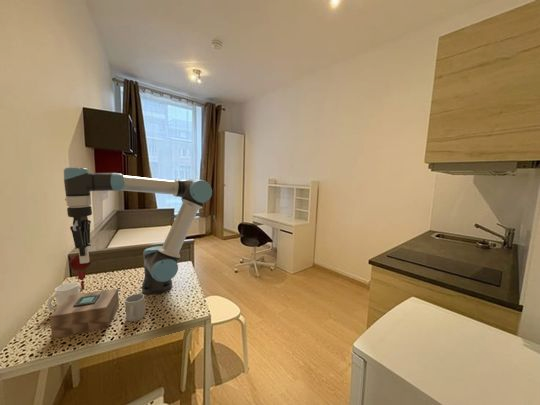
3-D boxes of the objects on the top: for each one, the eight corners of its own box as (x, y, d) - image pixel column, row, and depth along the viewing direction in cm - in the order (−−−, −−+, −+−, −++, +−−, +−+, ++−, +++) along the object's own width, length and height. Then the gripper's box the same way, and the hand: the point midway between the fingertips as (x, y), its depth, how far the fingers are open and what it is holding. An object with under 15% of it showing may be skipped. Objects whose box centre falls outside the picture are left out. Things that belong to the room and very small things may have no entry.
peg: (96, 315, 99) (95, 296, 98) (93, 321, 95) (91, 301, 94) (85, 317, 97) (83, 298, 96) (80, 323, 93) (79, 303, 92)
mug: (54, 318, 97) (51, 296, 96) (42, 314, 100) (40, 292, 99) (84, 304, 108) (82, 283, 107) (73, 300, 111) (71, 281, 110)
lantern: (66, 292, 119) (61, 237, 116) (84, 284, 128) (79, 232, 125) (81, 294, 117) (76, 238, 114) (98, 285, 127) (93, 233, 123)
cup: (147, 310, 103) (146, 292, 102) (141, 324, 94) (139, 304, 93) (129, 313, 102) (128, 294, 100) (121, 327, 92) (119, 307, 91)
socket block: (119, 306, 107) (117, 287, 106) (108, 327, 92) (106, 305, 91) (71, 314, 100) (69, 294, 99) (52, 338, 85) (49, 314, 84)
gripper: (75, 204, 95) (80, 258, 98) (59, 208, 83) (65, 270, 86) (96, 204, 98) (101, 256, 101) (84, 208, 86) (89, 267, 89)
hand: (84, 262), depth 93 cm, fingers closed
